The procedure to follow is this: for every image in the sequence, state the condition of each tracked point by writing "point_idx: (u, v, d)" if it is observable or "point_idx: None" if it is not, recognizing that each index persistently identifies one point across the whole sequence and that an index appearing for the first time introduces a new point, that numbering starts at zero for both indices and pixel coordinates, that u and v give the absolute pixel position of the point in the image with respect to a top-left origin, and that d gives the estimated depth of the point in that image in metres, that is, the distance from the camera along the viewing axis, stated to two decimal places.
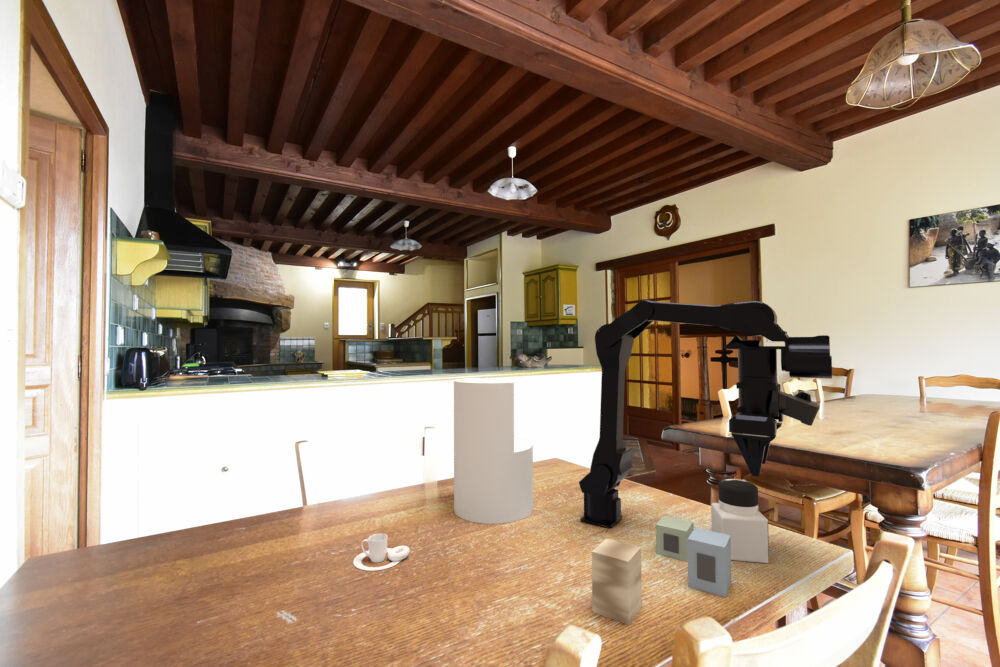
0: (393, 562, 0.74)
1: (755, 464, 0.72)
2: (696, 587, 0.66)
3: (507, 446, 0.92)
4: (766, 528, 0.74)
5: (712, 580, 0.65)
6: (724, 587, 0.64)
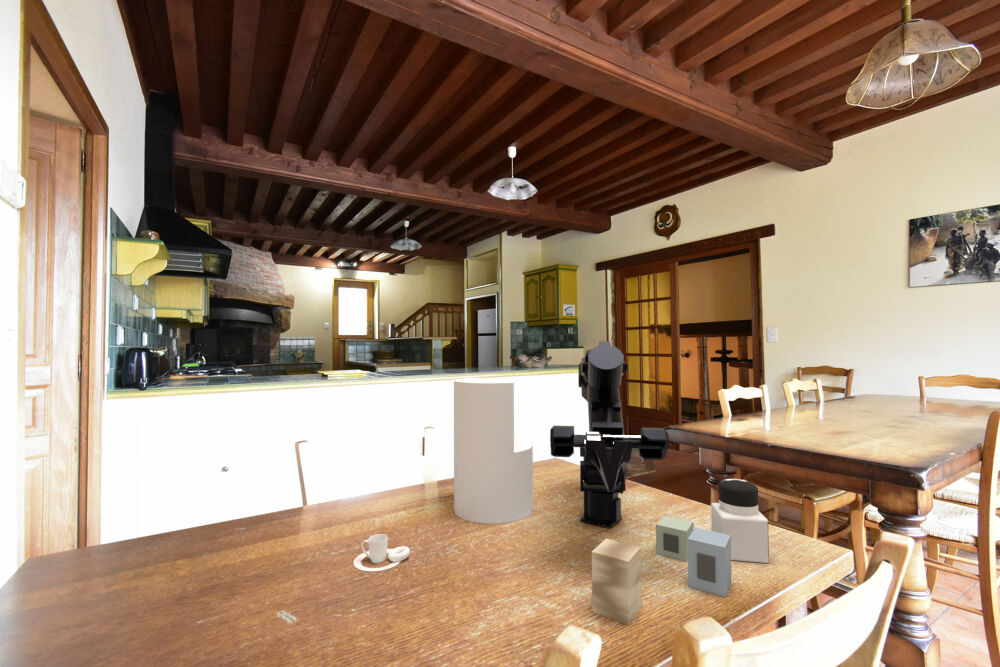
0: (393, 563, 0.74)
1: (616, 479, 0.70)
2: (696, 587, 0.66)
3: (507, 446, 0.92)
4: (766, 528, 0.74)
5: (712, 580, 0.65)
6: (724, 587, 0.64)
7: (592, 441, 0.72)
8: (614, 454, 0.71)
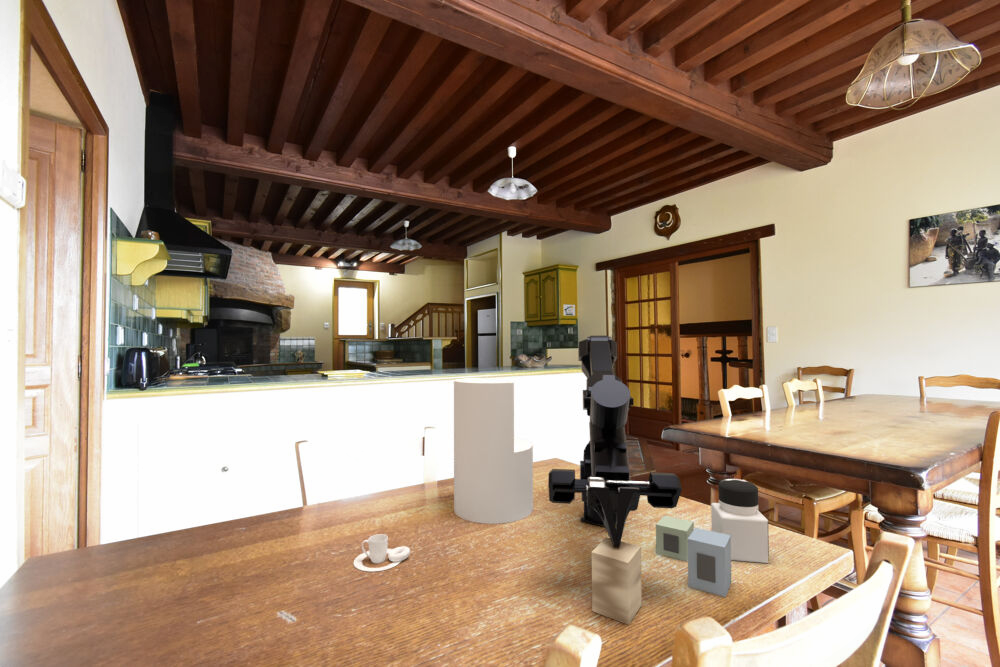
0: (393, 563, 0.74)
1: None
2: (696, 587, 0.66)
3: (507, 446, 0.92)
4: (766, 528, 0.74)
5: (712, 580, 0.65)
6: (724, 587, 0.64)
7: (595, 488, 0.65)
8: (620, 504, 0.63)
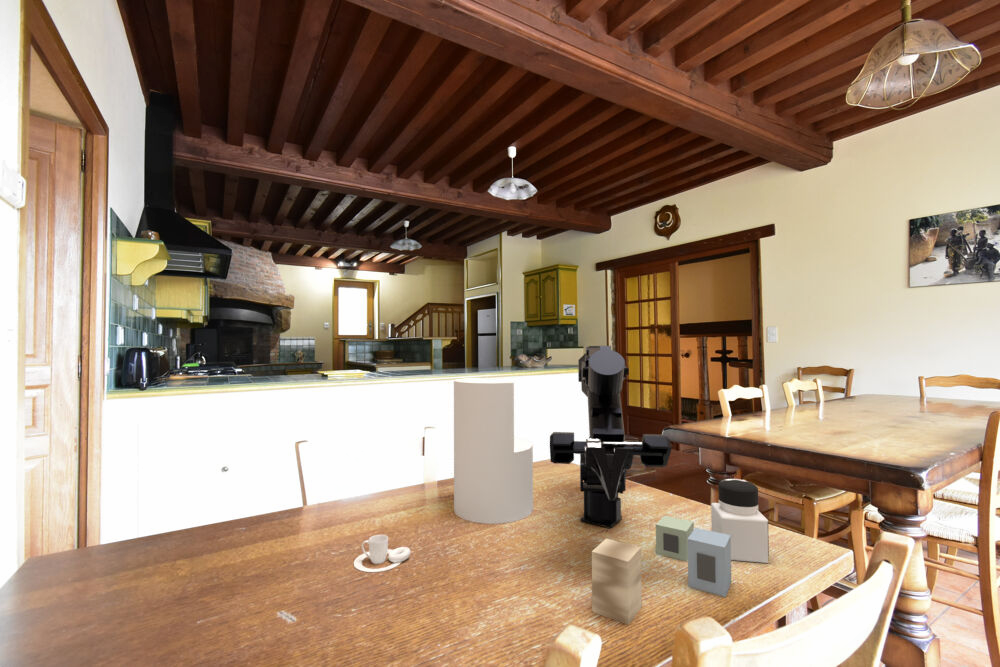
0: (394, 563, 0.74)
1: (617, 487, 0.69)
2: (696, 587, 0.66)
3: (507, 446, 0.92)
4: (766, 528, 0.74)
5: (712, 580, 0.65)
6: (724, 587, 0.64)
7: (592, 448, 0.71)
8: (615, 462, 0.69)
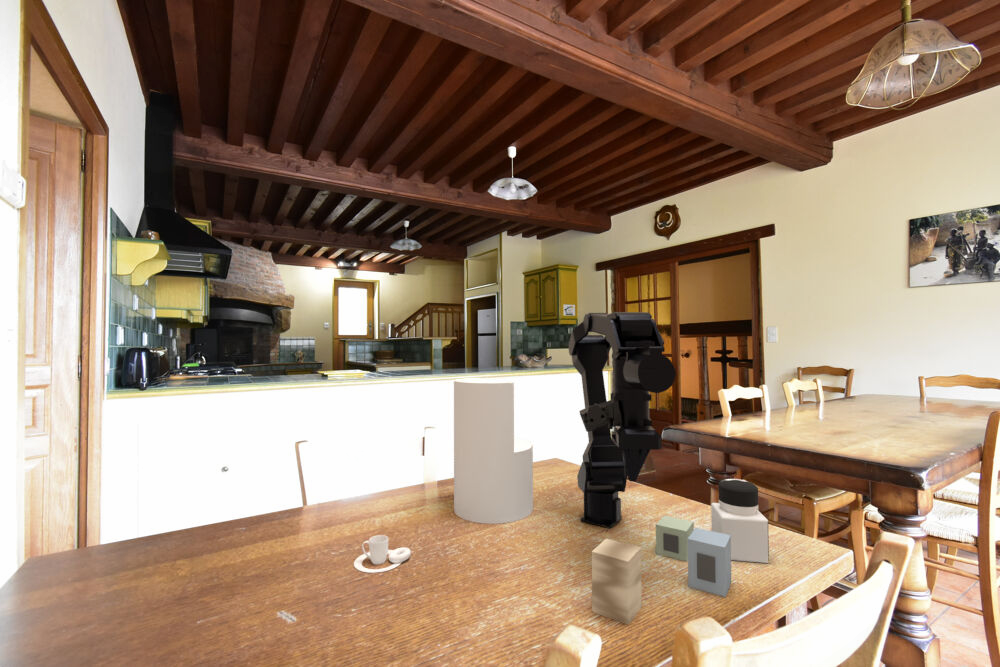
0: (394, 564, 0.74)
1: None
2: (696, 587, 0.66)
3: (507, 446, 0.92)
4: (766, 528, 0.74)
5: (712, 580, 0.65)
6: (724, 587, 0.64)
7: None
8: None
